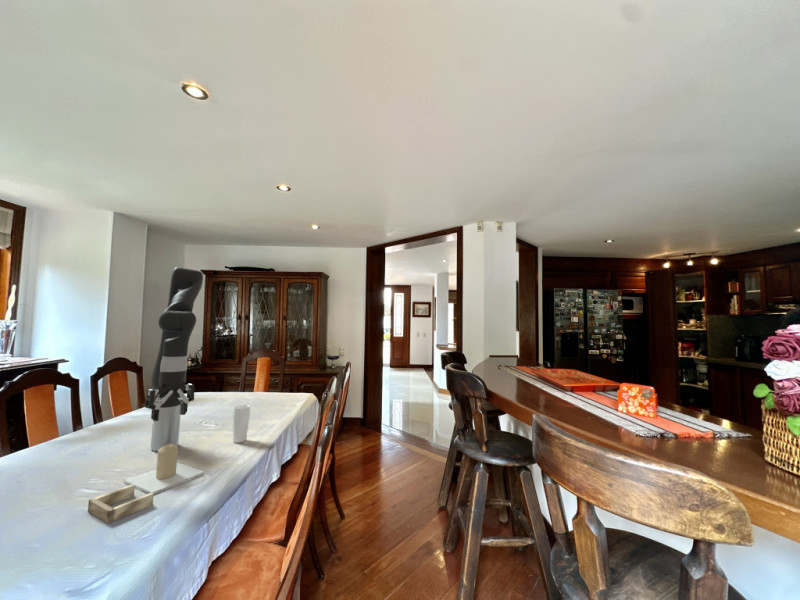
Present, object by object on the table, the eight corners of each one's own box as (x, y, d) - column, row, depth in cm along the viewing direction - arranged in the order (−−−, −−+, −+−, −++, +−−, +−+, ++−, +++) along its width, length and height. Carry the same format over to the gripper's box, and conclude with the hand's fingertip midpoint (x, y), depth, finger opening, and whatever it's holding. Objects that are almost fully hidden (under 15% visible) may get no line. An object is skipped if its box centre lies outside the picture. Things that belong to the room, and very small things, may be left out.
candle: (162, 471, 111) (165, 441, 111) (179, 471, 111) (181, 441, 112) (151, 479, 105) (154, 448, 106) (169, 479, 106) (171, 447, 106)
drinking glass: (241, 444, 139) (243, 409, 140) (227, 443, 140) (230, 408, 142) (251, 439, 146) (253, 405, 147) (238, 437, 147) (240, 404, 148)
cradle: (108, 523, 83) (109, 511, 83) (87, 511, 88) (88, 499, 89) (152, 504, 92) (153, 493, 93) (131, 494, 97) (132, 484, 98)
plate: (124, 482, 104) (124, 480, 104) (176, 464, 118) (176, 462, 119) (151, 495, 97) (151, 492, 97) (203, 474, 111) (204, 471, 111)
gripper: (188, 366, 118) (184, 411, 117) (143, 370, 106) (139, 421, 105) (201, 368, 115) (197, 414, 114) (156, 372, 102) (151, 425, 101)
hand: (169, 417), depth 109 cm, fingers open, 8 cm apart
